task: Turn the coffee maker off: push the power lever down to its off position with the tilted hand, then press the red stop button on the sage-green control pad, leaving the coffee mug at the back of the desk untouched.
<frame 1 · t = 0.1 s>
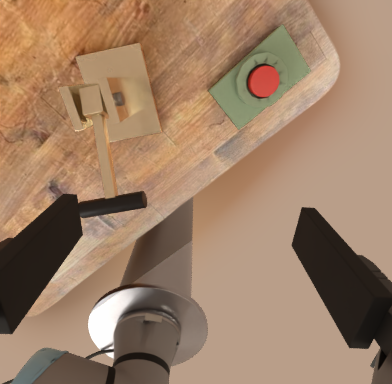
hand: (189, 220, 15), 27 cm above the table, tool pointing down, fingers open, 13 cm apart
power switch: (123, 96, 37), on the table
stop button: (263, 81, 32), point 4 cm above the table, slide at 0.1 cm
control pad: (255, 80, 36), on the table
power lever: (104, 151, 27), point 13 cm above the table, hinge at 25.0°
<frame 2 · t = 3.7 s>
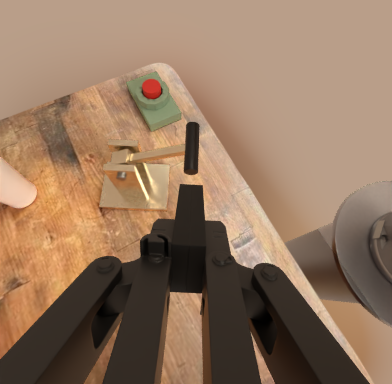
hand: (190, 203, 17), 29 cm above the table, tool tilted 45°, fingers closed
drinking glass: (24, 195, 46), on the table
power switch: (137, 187, 48), on the table
stop button: (151, 89, 50), point 4 cm above the table, slide at 0.1 cm
control pad: (154, 104, 54), on the table
power lever: (154, 154, 35), point 13 cm above the table, hinge at 25.0°
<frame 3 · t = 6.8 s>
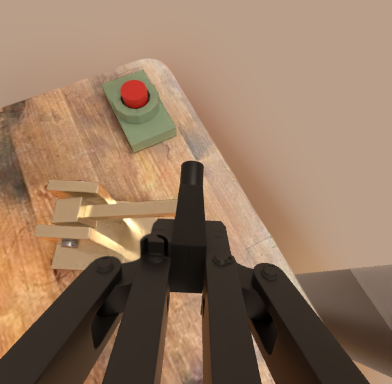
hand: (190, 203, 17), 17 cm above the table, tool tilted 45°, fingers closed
power switch: (110, 235, 33), on the table
stop button: (134, 94, 36), point 4 cm above the table, slide at 0.1 cm
control pad: (140, 114, 40), on the table
power lever: (126, 210, 21), point 13 cm above the table, hinge at 21.8°, touching gripper
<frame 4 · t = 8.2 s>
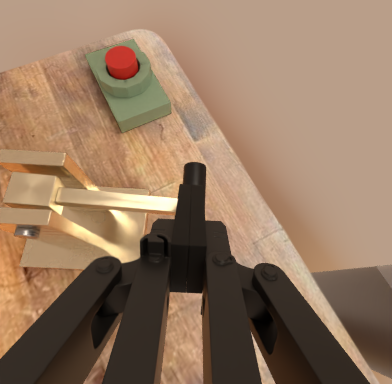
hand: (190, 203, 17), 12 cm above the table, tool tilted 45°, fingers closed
power switch: (92, 227, 28), on the table
stop button: (122, 63, 31), point 4 cm above the table, slide at 0.1 cm
control pad: (129, 89, 35), on the table
power lever: (115, 201, 18), point 10 cm above the table, hinge at -7.2°, touching gripper
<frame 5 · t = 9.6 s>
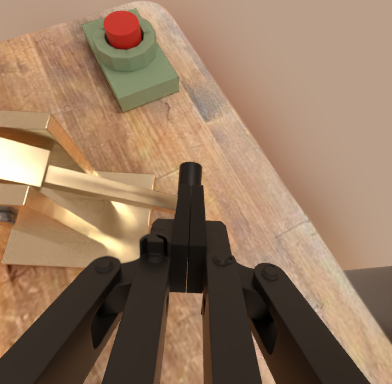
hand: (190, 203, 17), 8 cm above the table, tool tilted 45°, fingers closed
power switch: (88, 219, 24), on the table
stop button: (123, 30, 27), point 4 cm above the table, slide at 0.1 cm
control pad: (131, 65, 31), on the table
power lever: (112, 191, 16), point 8 cm above the table, hinge at -30.6°, touching gripper
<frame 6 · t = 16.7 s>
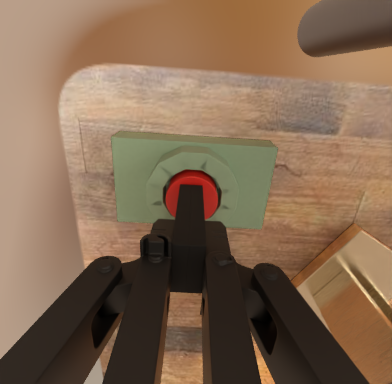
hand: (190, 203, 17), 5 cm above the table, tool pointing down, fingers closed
power switch: (338, 283, 26), on the table
stop button: (192, 195, 18), point 4 cm above the table, slide at -0.7 cm, touching gripper
control pad: (192, 176, 21), on the table
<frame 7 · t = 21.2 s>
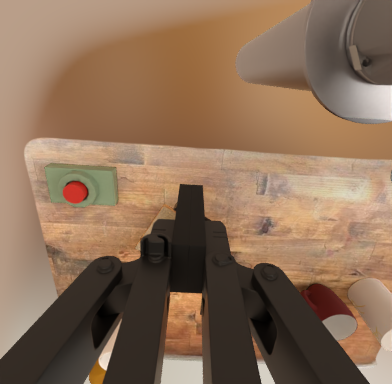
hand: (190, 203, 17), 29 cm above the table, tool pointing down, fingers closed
drinking glass: (133, 298, 61), on the table
power switch: (168, 234, 53), on the table
apple: (124, 333, 67), on the table
stop button: (75, 192, 44), point 4 cm above the table, slide at 0.1 cm
control pad: (85, 182, 48), on the table
cup: (364, 290, 60), on the table
power lever: (176, 244, 44), point 8 cm above the table, hinge at -30.6°
mug: (310, 287, 60), on the table
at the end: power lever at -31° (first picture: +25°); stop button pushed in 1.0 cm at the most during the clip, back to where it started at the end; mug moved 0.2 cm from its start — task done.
